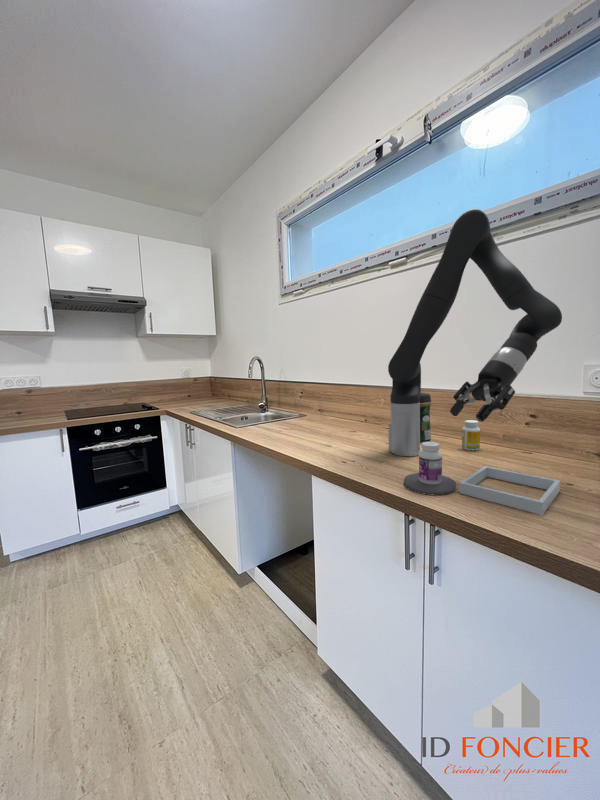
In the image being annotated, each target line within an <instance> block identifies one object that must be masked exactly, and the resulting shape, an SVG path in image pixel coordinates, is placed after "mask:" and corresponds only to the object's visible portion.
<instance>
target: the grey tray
mask: <svg viewBox="0 0 600 800" xmlns="http://www.w3.org/2000/svg"><path fill="white" fill-rule="evenodd" d="M486 478H492V479H497V480H500V481H505V482H510V483H514V484H519V485H524V486H527V487H528V486H529V487H533V488H538V489H542V490H546V491H545V492H544V493H543V495H542V496H541V497H540V499H534V498H530V497H527V496H521V495H518V494H513V493H510V492H505V491H502V490H496V489H493V488H490V487H489V488H488V487H485V486H482V485H478V484H479V483H481V482H482V481H483V480H484V479H486ZM560 492H561V480H559V479H554V478H548V477H542V476H538V475H534V474H527V473H522V472H518V471H517V472H516V471H512V470H508V469H502V468H497V467H493V466H486V465H484V466H483V467H481V468H480V469H478V470H477V471H475V472H474V473H472V474H471V475H469V476H467V477H466V478H465V479H463V480H462V481H460V482H459V494H462V495H466V496H469V497H474V498H477V499H480V500H485V501H488V502H492V503H496V504H500V505H503V506H507V507H511V508H514V509H518V510H521V511H526V512H530V513H533V514H537V515H540V516H543V515H544V514H545V512H546V511H547V509H548V508H549V507H550V505H551V504H552V503H553V501H554V500H555V499H556V498H557V496H558V494H559V493H560Z"/></svg>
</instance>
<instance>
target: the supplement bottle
mask: <svg viewBox="0 0 600 800" xmlns="http://www.w3.org/2000/svg"><path fill="white" fill-rule="evenodd" d="M478 426H479V420H478V421H477V420H475V419H474V420H473V419H469V420H468V419H467V420H464V426H463V427H462V429H461V449H463V450H465V451H471V450H472V451H473V452H474V450H476V451H479V450H480V447H481V446H480V445H481V429H480V427H478Z"/></svg>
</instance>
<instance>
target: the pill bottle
mask: <svg viewBox="0 0 600 800" xmlns="http://www.w3.org/2000/svg"><path fill="white" fill-rule="evenodd" d="M439 450H440V444H439V443H438V442H435V441H425V442H423V441H422V442H421V450H420V453H419V455H418V473H419V480H420V481H421V482H422V483H424V484H429V485H437V484H440V483H441V482H442V475H443V454H442V452H440V451H439Z"/></svg>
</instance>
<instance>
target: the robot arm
mask: <svg viewBox="0 0 600 800" xmlns="http://www.w3.org/2000/svg"><path fill="white" fill-rule="evenodd" d="M470 259H471V261H473V262H474V264H475V265H476V266H477V267H478V268H479V269H480V271H481V272H482V273H483V274H484V276H485V277H486V279H487V280H488V282H489V284H490V285H491V286H492V288H493V289H494V291H495V292H496V294H497V295H498V296H499V298H500V300H501V301H502V302H503V303H504V305H505V306H506V308H508V309H509V310H510V311H516V310H519V309H521V310H522V311H523V312H524V313H526V314H525V315H524V316H523V317H521V319H520V320H519V321H518V322H517V323H516V324H515V325H514V327H513V329H512V331H511V333H510V334H509V337H508V338H507V339H506V340H505V341H504V343H503V344H502V345H501V346H500V348H499V349H498V350H497V351H495V353H494V354H493V355H492V356H491V358H490V359H489V360H488V361H487V363H486V364H485V365H484V367H483V368H482V369H481V370H480V371H479V372H478V377H477V380H476V382H474V383H470V382H469V381H465V382H464V383H463V384H462V385H461V386H460V388H459V389H458V390H457V392H455V393H454V395H453V396H452V398H453V399H454V400H455V403H454V404H453V405H452V406H451V408H450V410H449V413H450V414H451V415H452V416H454V417H458V415H459V414H460V412H462V410H463V408H464V407H465V406H466V405H468V404H470V403H475V402H477V401H479V402H480V401H483V402H485V404H483V405H482V407H481V408H480V409H479V410H478V412H477V413H476V414H475V418H476V419H477V420H478V422H484V421H485V420H487V419H488V418H489V416H490V415H491V413H493V412H494V411H496V410H498V409H499V411H501V410H504V409H505V408H506V406H507V405H508V404H509V402H510V401H511V400H512V398H513V396H514V395H515V393H516V390H515V389H514V387H513V386H512V384H513V383H514V381H515V380H516V378H517V377H518V376H519V374H520V373H521V372H522V371H523V369H524V367H525V366H526V364H527V363H528V361H529V360H530V359H531V357H532V356H533V354H535V352H536V350H537V348H538V341H539V340H540V339H541V338H542V337H544V336H546V334H548V333H550V332H552V331H553V330H555V329H557V328H558V327H559V326H560V325H561V323H562V321H563V314H562V311H561V309H560V307H559V306H558V305H557V304H556V303H555V302H553V301H552V300H551V299H549V298H548V297H546V296H545V295H543V294H542V293H541V292H539V291H538V290H536V289H535V288H534V287H533V285H532V284H531V283H530V281H529V280H528V279H527V277H526V276H525V275H524V273H522V271H521V270H519V268H518V267H517V266H516V265H515V264H513V263H512V261H511V260H510V259H508V258H507V257H506V256H505V255H504V253H503V252H502V251H501V250H500V249H499V247H498V244H496V241H495V238H494V236H493V235H492V231H491V223H490V219H489V217H488V215H487V213H485V211H483V210H482V209H481V208H480V209H479V208H471V209H469V210H466V211H465V212H463V213H462V214H461V215H460V216H458V218H457V219H456V220H455V222H454V223H453V225H452V228H451V230H450V233H449V236H448V238H447V241H446V244H445V247H444V250H443V253H442V255H441V257H440V260H439V261H438V264H437V266H436V267H435V269H434V271H433V273H432V274H431V277H430V279H429V281H428V283H427V285H426V288H425V289H424V291H423V293H422V295H421V297H420V300H419V302H418V304H417V305H416V308H415V310H414V312H413V315H412V317H411V320H410V321H409V325H408V328H407V330H406V332H405V335H404V337H403V339H402V341H401V342H400V344H399V346H398V347H397V349H396V351H395V352H394V354H393V355H392V357H391V359H390V360H389V362H388V367H387V370H388V371H387V372H388V375H389V377H390V379H391V380H392V389H391V393H390V397H389V398H390V424H388V427H387V429H388V431H387V432H388V435H387V436H388V453H391V454H393V455H395V456H400V457H415V456H419V453H420V451H421V441H420V393H422V392H421V391H422V389H421V388H422V365H421V360H422V357H423V355H424V353H425V350H426V348H427V346H428V345H429V343H430V342H431V340H432V339H433V337H434V335H436V333H437V332H438V330H439V329H440V328H441V326H442V325H443V323H444V321H445V320H446V318H447V317H448V315H449V313H450V311H451V309H452V306H453V305H454V302H455V300H456V297H457V295H458V292H459V288H460V285H461V282H462V278H463V275H464V271H465V269H466V267H467V264H468V263H469V260H470ZM471 395H472V397H471Z"/></svg>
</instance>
